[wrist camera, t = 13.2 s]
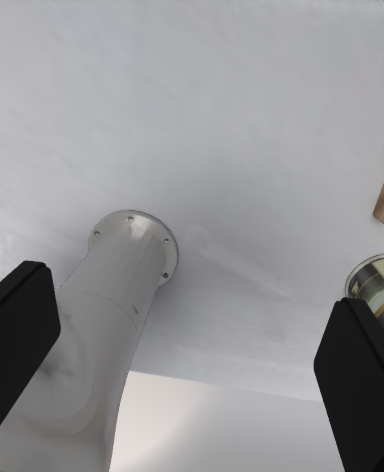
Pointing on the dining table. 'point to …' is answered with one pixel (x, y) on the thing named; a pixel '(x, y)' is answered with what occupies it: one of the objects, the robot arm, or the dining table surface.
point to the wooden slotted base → (380, 207)
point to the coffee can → (369, 285)
